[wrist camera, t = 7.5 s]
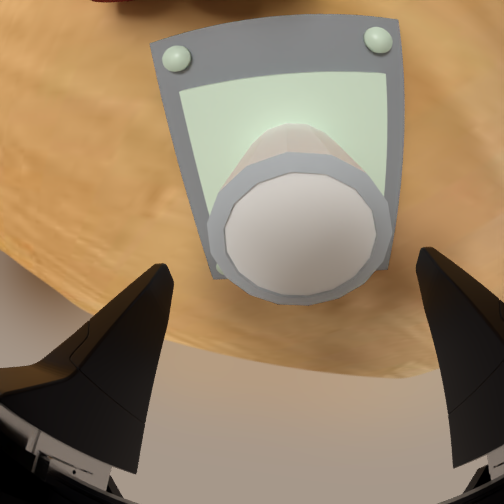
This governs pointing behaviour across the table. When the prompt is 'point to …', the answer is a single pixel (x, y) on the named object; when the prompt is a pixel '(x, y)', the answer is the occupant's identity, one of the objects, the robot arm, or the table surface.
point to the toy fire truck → (110, 0)
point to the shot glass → (298, 219)
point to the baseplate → (282, 97)
